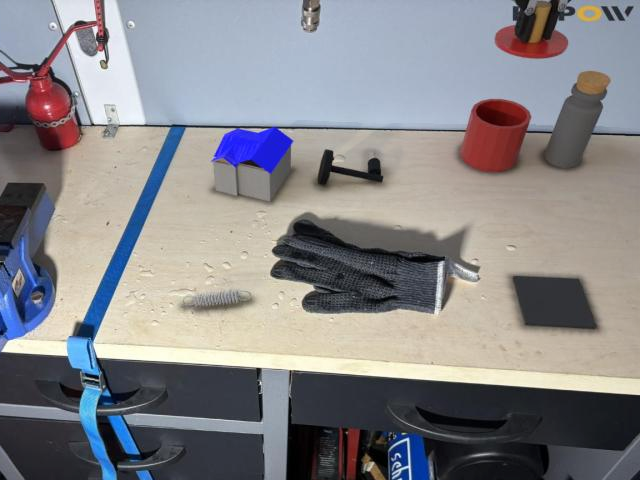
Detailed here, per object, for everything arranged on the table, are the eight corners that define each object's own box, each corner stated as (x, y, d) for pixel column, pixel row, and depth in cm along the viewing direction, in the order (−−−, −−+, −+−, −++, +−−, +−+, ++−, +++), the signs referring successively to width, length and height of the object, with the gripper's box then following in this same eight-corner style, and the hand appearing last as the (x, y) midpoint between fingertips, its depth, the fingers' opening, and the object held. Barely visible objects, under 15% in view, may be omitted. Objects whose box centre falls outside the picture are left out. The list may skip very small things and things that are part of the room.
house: (213, 191, 104) (209, 151, 98) (239, 157, 110) (237, 118, 105) (269, 205, 101) (269, 165, 95) (293, 169, 107) (294, 130, 101)
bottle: (536, 154, 107) (566, 74, 96) (561, 145, 108) (594, 65, 97) (561, 171, 103) (595, 90, 92) (587, 162, 105) (623, 81, 94)
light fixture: (374, 160, 111) (377, 203, 103) (318, 149, 111) (317, 191, 102) (385, 133, 107) (389, 174, 98) (327, 121, 107) (326, 162, 98)
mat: (578, 280, 86) (579, 278, 86) (595, 328, 80) (597, 327, 80) (512, 277, 87) (513, 275, 87) (525, 325, 81) (526, 323, 81)
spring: (183, 311, 86) (181, 301, 84) (183, 300, 87) (181, 291, 86) (251, 305, 86) (251, 295, 84) (250, 294, 87) (250, 285, 86)
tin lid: (557, 31, 93) (571, -11, 89) (573, 63, 86) (589, 19, 82) (488, 31, 94) (498, -10, 90) (499, 62, 88) (510, 19, 83)
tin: (510, 142, 110) (524, 99, 104) (520, 172, 104) (536, 129, 97) (457, 140, 111) (468, 98, 105) (464, 171, 105) (476, 127, 98)
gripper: (620, -123, 79) (571, 20, 92) (501, -110, 78) (468, 32, 91) (655, -107, 74) (597, 42, 87) (527, -93, 73) (489, 55, 86)
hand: (532, 36), depth 89 cm, fingers closed on tin lid, 2 cm apart
